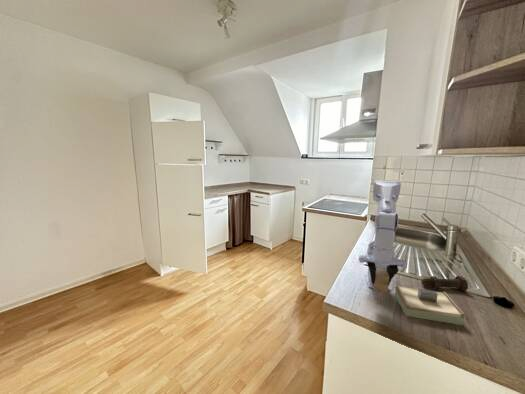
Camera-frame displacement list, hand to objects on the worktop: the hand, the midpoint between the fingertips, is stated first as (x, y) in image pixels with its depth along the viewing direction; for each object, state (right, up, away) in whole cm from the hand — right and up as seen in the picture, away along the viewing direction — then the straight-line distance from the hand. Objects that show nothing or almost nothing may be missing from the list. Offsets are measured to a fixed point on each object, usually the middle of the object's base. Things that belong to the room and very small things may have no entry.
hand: (379, 283), depth 78 cm
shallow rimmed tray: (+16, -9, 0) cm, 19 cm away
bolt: (+32, -7, +13) cm, 35 cm away
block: (0, -2, 0) cm, 2 cm away
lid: (+16, -6, 0) cm, 17 cm away
